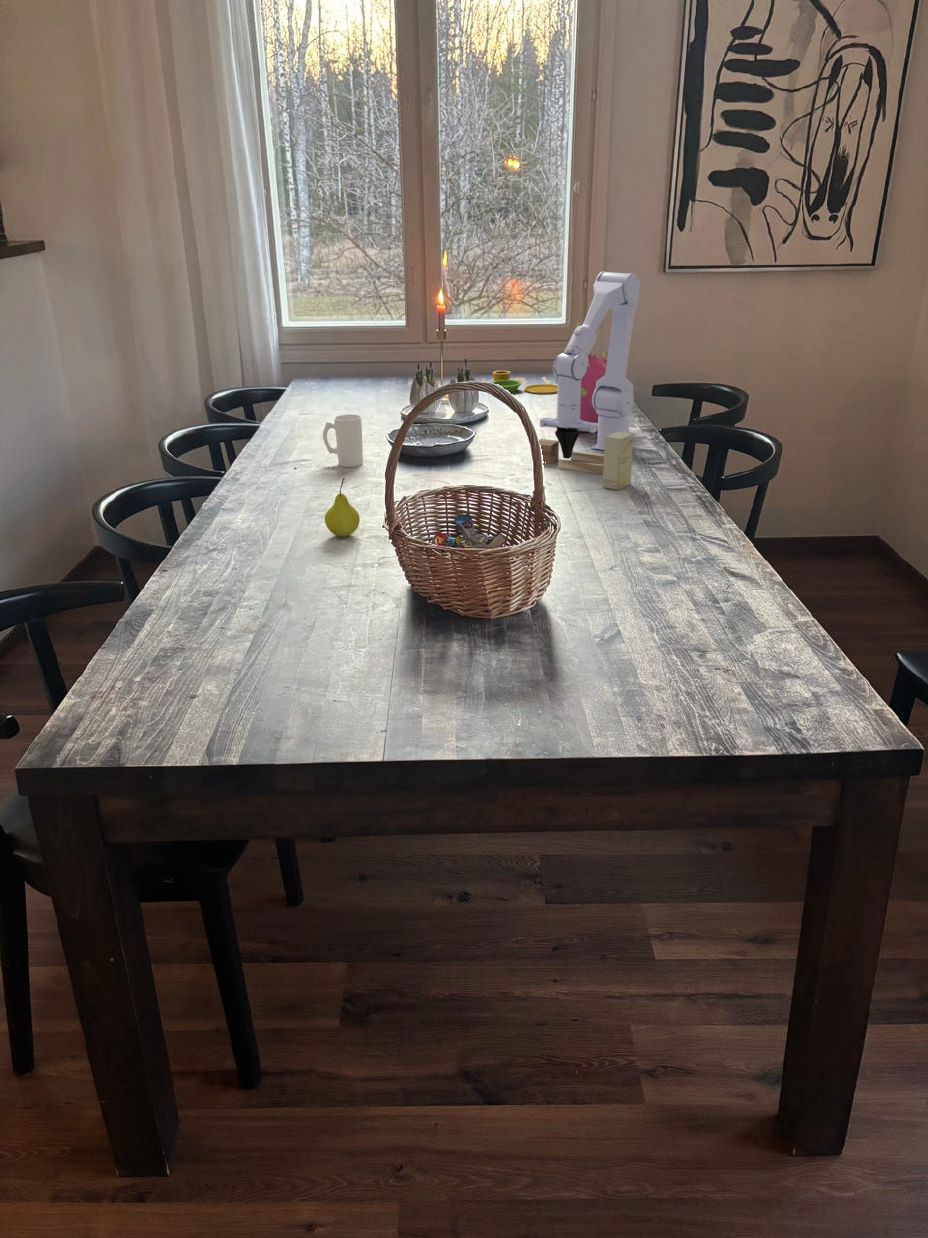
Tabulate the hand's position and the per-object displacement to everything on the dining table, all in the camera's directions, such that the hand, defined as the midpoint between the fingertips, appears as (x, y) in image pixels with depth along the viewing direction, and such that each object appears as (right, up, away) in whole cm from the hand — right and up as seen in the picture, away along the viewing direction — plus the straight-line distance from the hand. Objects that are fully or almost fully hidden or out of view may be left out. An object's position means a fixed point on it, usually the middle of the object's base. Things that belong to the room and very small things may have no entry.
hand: (567, 457), depth 242 cm
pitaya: (+8, +12, +30) cm, 33 cm away
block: (-5, 0, +3) cm, 6 cm away
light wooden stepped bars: (+5, -2, -2) cm, 6 cm away
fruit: (-51, -24, -44) cm, 71 cm away
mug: (-57, -1, +4) cm, 57 cm away
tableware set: (+3, +38, +86) cm, 94 cm away
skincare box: (+10, -10, -16) cm, 21 cm away
